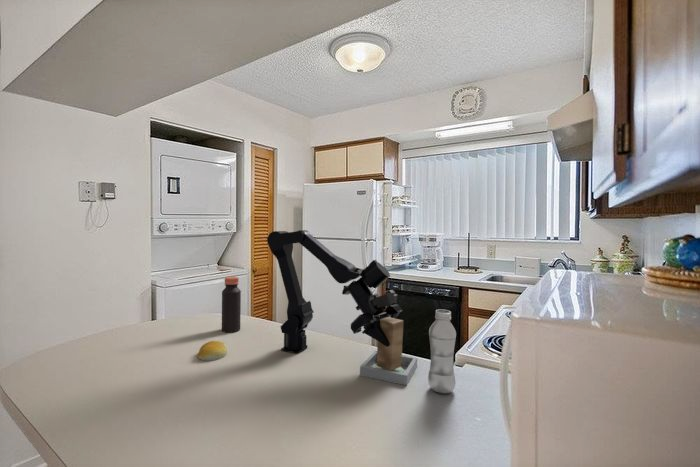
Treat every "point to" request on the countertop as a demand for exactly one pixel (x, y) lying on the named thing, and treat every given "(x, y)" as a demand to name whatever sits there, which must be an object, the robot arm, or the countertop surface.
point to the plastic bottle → (442, 353)
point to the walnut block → (393, 353)
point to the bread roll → (212, 351)
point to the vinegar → (231, 306)
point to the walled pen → (388, 375)
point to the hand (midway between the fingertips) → (394, 343)
